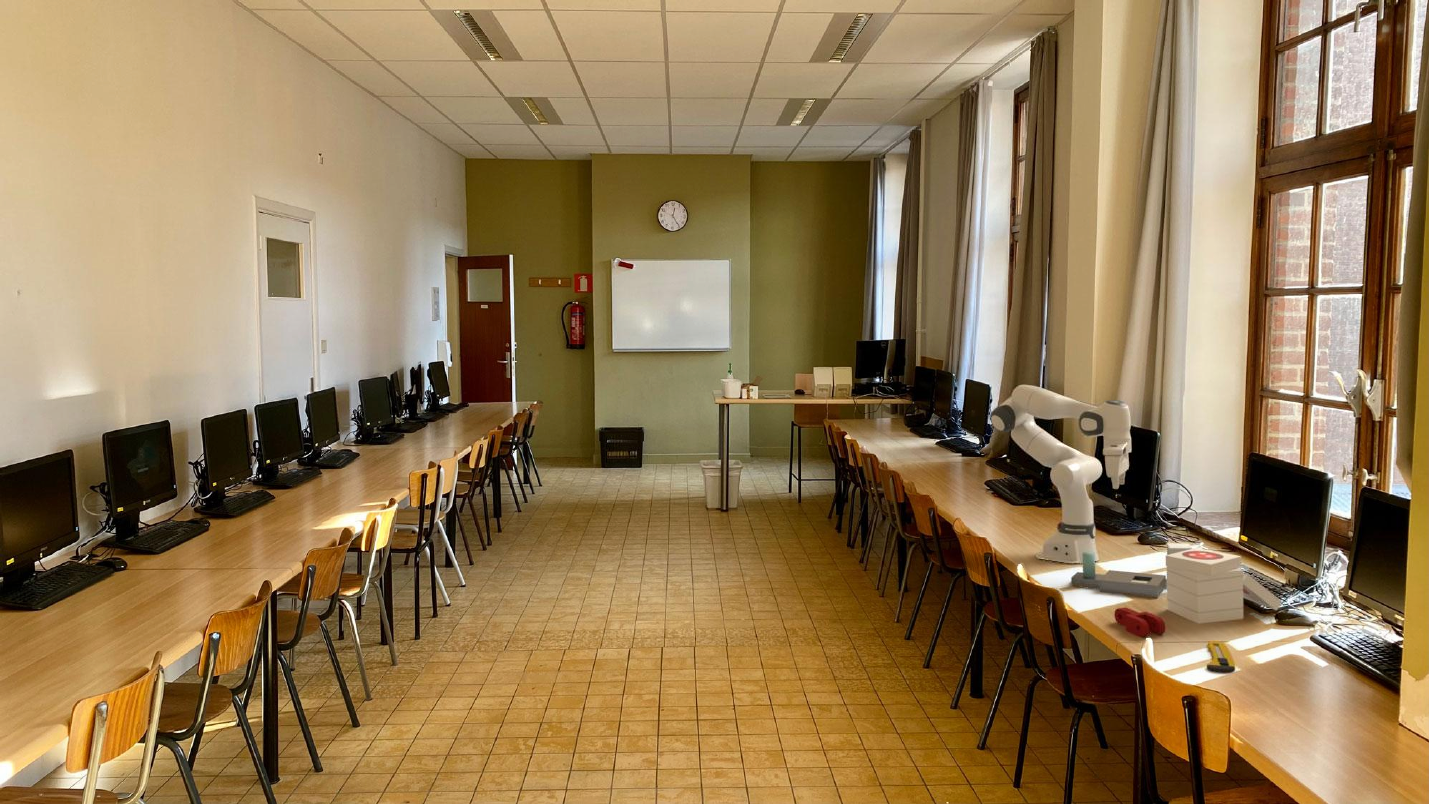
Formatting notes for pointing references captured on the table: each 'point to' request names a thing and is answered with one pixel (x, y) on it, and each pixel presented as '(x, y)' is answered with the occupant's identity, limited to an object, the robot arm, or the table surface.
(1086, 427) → the robot arm
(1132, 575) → the plate
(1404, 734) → the table surface
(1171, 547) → the supplement box
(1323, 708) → the table surface
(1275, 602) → the white stacked boxes
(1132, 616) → the mechanical linkage
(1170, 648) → the table surface
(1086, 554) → the peg
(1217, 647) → the utility knife
